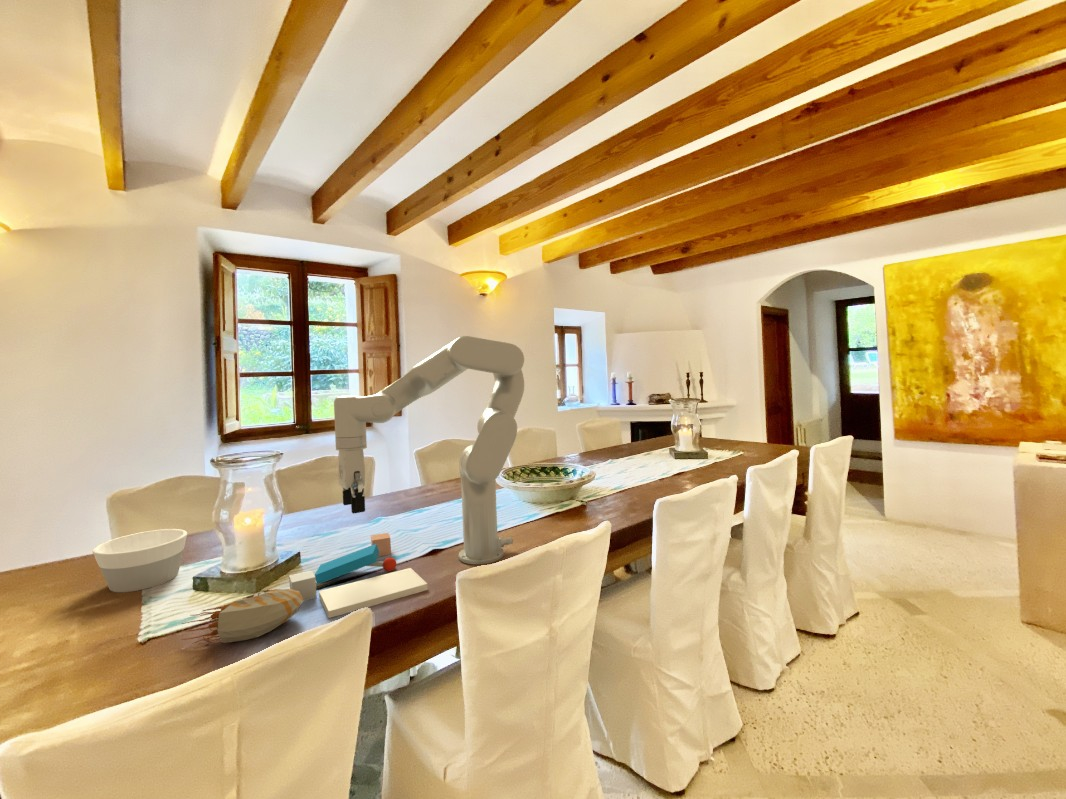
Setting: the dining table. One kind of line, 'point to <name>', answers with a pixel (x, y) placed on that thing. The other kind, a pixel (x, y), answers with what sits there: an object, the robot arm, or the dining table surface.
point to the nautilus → (251, 615)
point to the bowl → (141, 559)
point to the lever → (353, 564)
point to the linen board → (371, 591)
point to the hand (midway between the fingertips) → (353, 508)
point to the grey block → (304, 584)
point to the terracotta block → (382, 543)
